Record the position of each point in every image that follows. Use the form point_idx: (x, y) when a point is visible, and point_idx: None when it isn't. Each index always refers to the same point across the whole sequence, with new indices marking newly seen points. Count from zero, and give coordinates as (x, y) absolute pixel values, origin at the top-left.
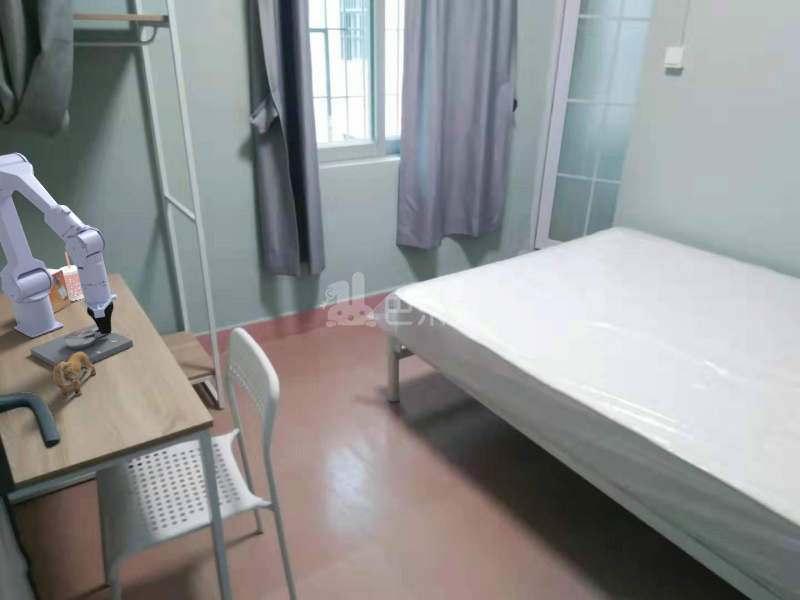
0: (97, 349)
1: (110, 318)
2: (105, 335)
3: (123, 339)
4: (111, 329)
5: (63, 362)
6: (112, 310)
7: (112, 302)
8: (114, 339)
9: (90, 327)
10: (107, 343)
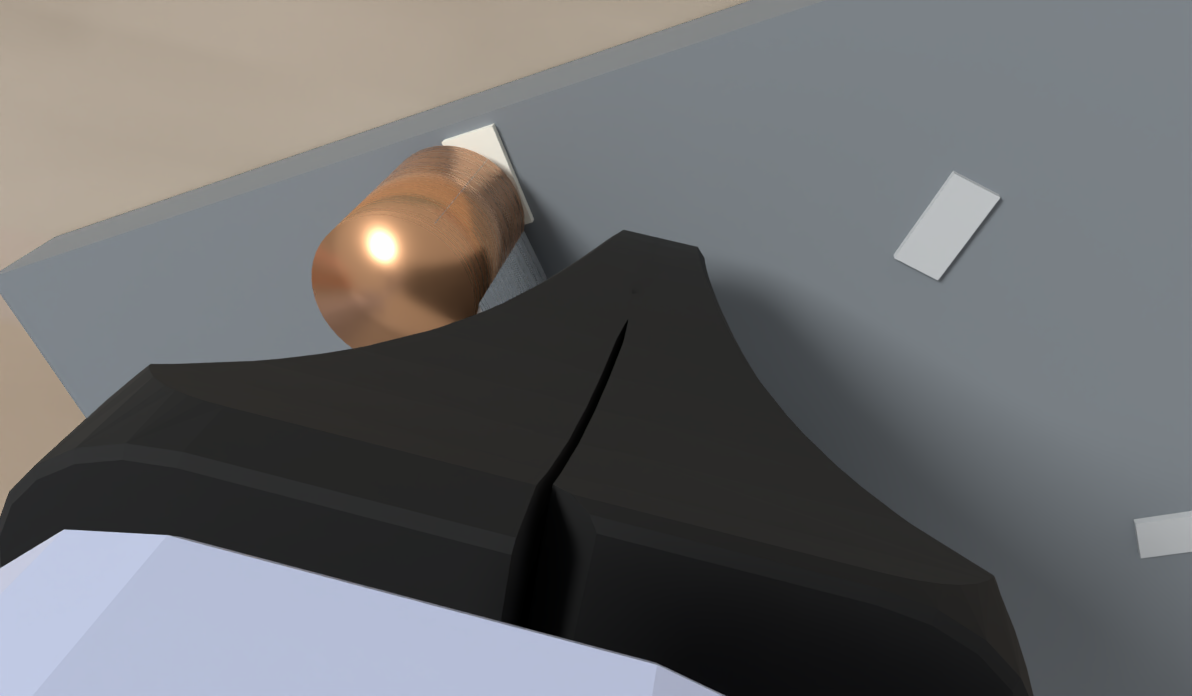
0: (1040, 508)
1: (797, 433)
2: (552, 272)
3: (986, 41)
4: (461, 166)
5: None
6: (1001, 607)
7: (255, 497)
8: (843, 191)
9: (109, 368)
10: (929, 334)
